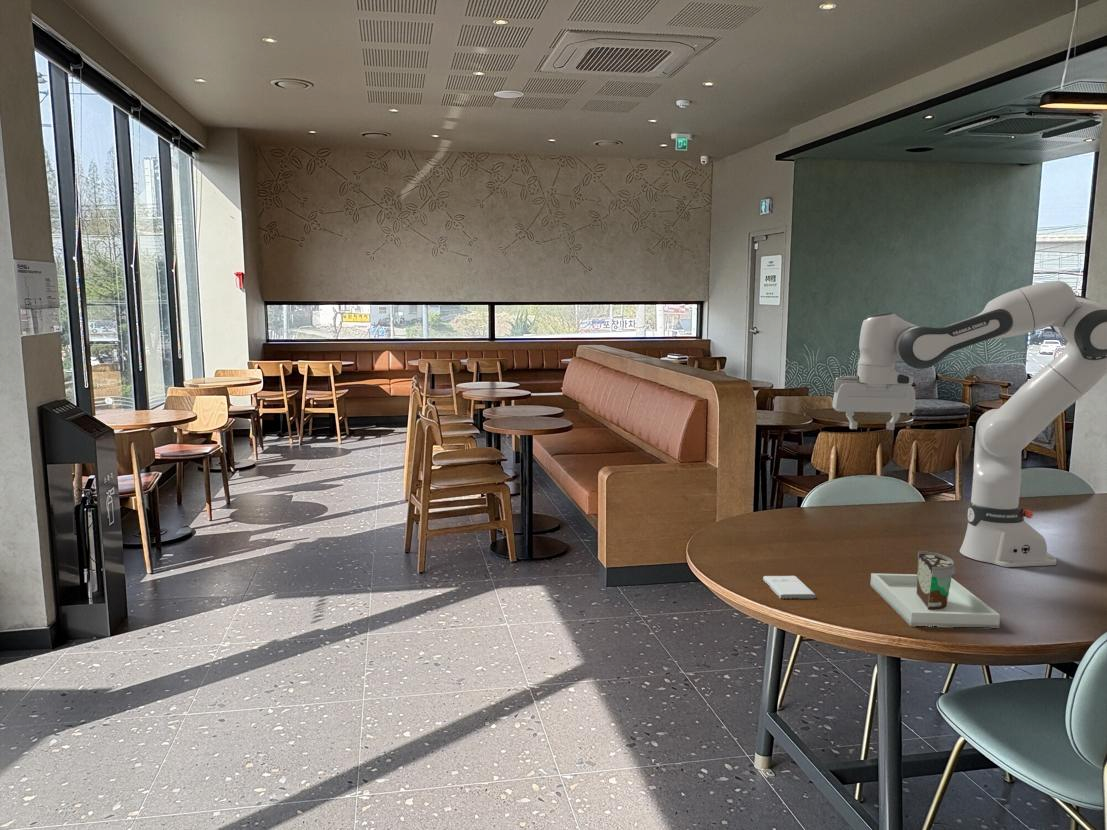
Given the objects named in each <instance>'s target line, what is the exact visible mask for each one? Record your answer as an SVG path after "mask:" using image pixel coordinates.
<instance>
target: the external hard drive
mask: <svg viewBox="0 0 1107 830" xmlns="http://www.w3.org/2000/svg"><path fill="white" fill-rule="evenodd" d="M762 577H763V578H762V580H763V582H764V583H767V584H768V585H769V586H770V587H769V586H768V585H767V584H766V585H767V586H768V587H769V588H770V589H771V590H772V592H774V593H775V595H776V596H777V595H778V596H779V597H778V596H777V597H778V598H779V599H780V600H781V598H783V599H784V598H785V600H786V599H787V598H789V599H790V600H791V599H792V598H794V599H795V598H798V599H816V596H817V595H816V594H815V593H814V592H813V591H812V590H811V589H810V588H809V587H808V586H806V584H805V583H804V582H803V581H801V580H800V579H799V578H798V577H797V576H796V575H764V576H762ZM795 600H796V599H795Z"/></svg>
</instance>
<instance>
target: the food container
mask: <svg viewBox="0 0 1107 830" xmlns="http://www.w3.org/2000/svg"><path fill="white" fill-rule="evenodd" d="M916 559H917V571H916V572H917V573H916V574H917V592H916V594H917V596H918V597H919V598H920V600H921V601H922V602H923V604H924V605H925V606H926V608H927V609H928V610H938V609H943V608H945V607H946V606H947V600H948V594H949V589H950V583H951V578H952V576H953V575H955V574H956V573H957V572H956V565H955V563H954V560H953V559H952V558H950V557H948V556H946V555H944V554H941V553H937V552H932V551H924V550H918V552H917V558H916Z"/></svg>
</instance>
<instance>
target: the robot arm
mask: <svg viewBox="0 0 1107 830" xmlns="http://www.w3.org/2000/svg"><path fill="white" fill-rule="evenodd" d="M1048 327H1050V328H1051V330H1052V331H1053V332H1054V333H1055V334H1057V335H1058V336H1060V337H1061V338H1062V339H1063V340H1064V341H1066V344H1065V346H1064V348H1063V350H1062V352H1061V353H1060V354H1059V355H1058V356H1056V357H1055V358H1054V359H1052V360H1051V361H1050V362H1048V363H1047V364H1046V365H1045V366H1044V367H1042V368H1041V370H1038V372H1037V373H1035V374H1034V375H1033V376H1032V377H1031V378H1030V379H1028V380H1027V381H1026V382H1024V383H1023V384H1022V385H1021V386H1020V387H1019V388H1018V390H1017V391H1015V392H1014V393H1013V394H1012V395H1011V397H1010V398H1009V399H1007V401H1006V402H1005V403H1004V404H1002V405H1001V406H1000V407H999V408H992V409H990V410H987V411H985V412H984V413H983V414H982V415H981V416H980V417H979V418H978V419H977V422H976V424H975V435H974V436H975V439H974V453H973V455H974V456H973V474H972V485H971V498H970V501H968V508H967V527H966V532H965V536H964V539H963V542H962V544H961V547H960V549H959V553H960V554H961V555H963V556H964V557H967V558H970V559H972V560H975V561H979V562H984V563H989V564H994V565H997V566H1000V567H1004V568H1017V567H1019V568H1020V567H1041V566H1042V567H1043V566H1044V567H1045V566H1056V565H1057V559H1056V558H1055V556H1054V555H1051V554H1050V553H1049V552H1048V546H1047V541H1046V539H1045V537H1044V535H1042V534H1041V533H1040V532H1039V531H1037V530H1036V529H1035V528H1034V527H1032V525H1030V524H1029V523H1028V522H1027V521H1025V518H1027V519H1032V518H1033V517H1034V512H1033V511H1031V510H1029V509H1028V508H1027V509H1025V508H1023V507H1021V506H1019V505H1020V503H1019V502H1020V492H1021V483H1022V451H1023V450H1024V449H1025V448H1026V447H1027V446H1028V445H1029V444H1030V443H1032V442H1033V441H1034V440H1035V439H1036V437H1038V436H1039V435H1040V434H1042V432H1043V431H1044V430H1045V429H1046V428H1047V427H1048V426H1049V425H1050V424H1051V423H1052V422H1053V421H1054V420H1055V419H1056V418H1057V417H1059V415H1061V414H1062V413H1064V411H1066V410H1067V409H1068V408H1069V407H1071V406H1072V405H1074V403H1076V402H1077V401H1078V400H1079V399H1081V398H1082V397H1083V396H1085V395H1086V394H1087V393H1088V392H1089V391H1091V389H1092V388H1094V387H1095V386H1096V385H1097V384H1098V383H1099V382H1100V380H1101V379H1102V378H1103V377H1104V376H1105V375H1106V374H1107V306H1106V305H1105V304H1103V303H1101V302H1097V301H1095V300H1092V299H1090V298H1088V297H1085V296H1084V295H1083V296H1082V295H1078V294H1076V293H1075V291H1074V290H1073V288H1072V287H1071V286H1070V285H1069V284H1068V283H1067V282H1064V281H1062V280H1051V281H1045V282H1040V283H1039V282H1038V283H1036V284H1030V285H1027V286H1023V287H1020V288H1016V289H1013V290H1011V291H1008V292H1006V293H1005V292H1004V293H1003V294H1000V295H999V296H996V297H995V298H993V299H992V300H991V299H990V300H989V301H988V302H987V303H986V305H985V306H984V309H983V310H982V311H981V312H979V313H978V314H977V315H974V316H971V317H970V318H967V319H964V320H963V319H962V320H961V321H957V322H955V323H951V324H948V325H946V326H941V327H932V326H931V327H930V326H929V327H928V326H918V325H916V324H913V323H911V322H908V321H906V319H905V320H904V319H902V318H901V317H899V316H898V315H897V314H896V313H895V312H879V313H874V314H870V315H868V316H866V317H865V318H864V320H863V321H862V324H861V328H860V334H859V343H858V344H859V345H858V348H859V358H858V361H857V372H856V375H840V376H839V377H837V378H835V380H834V382H833V390H834V392H833V399H832V406H831V407H832V408H833V409H834V410H835V411H836V412H845V416H846V418H847V420H848V421H849V429H850V430H857V429H858V425H859V424H858V422H857V421H855V420H854V418H853V416H855V413H861V412H862V413H890V416H892V417H891V419H890V420H889V421H887V422H886V426H885V429H886V430H890V431H891V430H892V431H894V430H895V424H896V423H897V422H898V420H899V418H900V416H901V413H904V414H905V413H907V414H908V413H909V414H910V413H913V411H914V410H915V409H916V391H915V388H914V386H913V383H914V376H913V375H909V374H906V373H903V372H901V371H898V370H896V369H895V367H896V362H903V363H905V364H906V365H907V366H909V367H911V368H914V369H918V370H924V369H928V368H931V367H934V366H935V365H938V363H939V362H941V361H942V360H944V359H945V357H947V356H948V355H950V354H951V353H954V352H955V351H958V350H961V349H964V348H967V347H970V346H973V345H976V344H978V343H982V342H984V341H989V340H994V339H1006V338H1012V337H1017V336H1022V335H1025V334H1029V333H1031V332H1035V331H1038V330H1042V329H1043V328H1048Z"/></svg>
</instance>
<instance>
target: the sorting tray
mask: <svg viewBox="0 0 1107 830" xmlns="http://www.w3.org/2000/svg"><path fill="white" fill-rule="evenodd" d="M870 587H871V588H872V589H873V590H874V591H875V592H876V593H877V594H878V595H879V596H880V597H881V598H882V599H883V600H884V601H885V602H886V603H887V604H888V605H889V606H890V607H891V608H892V609H893V610H894V611H895V612H896V613H897V614H898V615H899V616H900V617H901V618H902V619H903V620H904V621H905V622H906V623H907V624H908V625H909V626H910V627H916V626H926V627H925V628H935V627H934V626H937V627H936V628H953V627H990V628H989V629H991V628H999V629H1000V623H1001V622H1000V620H1001V614H1000V613H998V612H997V611H996V610H995V609H993V608H992V607H991V606H990V605H988V604H987V603H986V602H984V601H982V600H981V599H980V598H979V597H977V596H976V595H975V594H974V593H972V591H970V590H969V589H967V588H966V587H964V586H963V585H962V584H961V583H959V582H958V581H957V580H955V579H954V578H952V577H951V583H950V589H949V594H948V600H947V606H946V607H945V608H943V609H938V610H928V609H927V608H926V606H925V605H924V604H923V602H922V601H921V600H920V598H919V597H918V596H917V594H916V592H917V573H916V574H914V573H913V574H911V573H910V574H909V573H907V574H906V573H905V574H904V573H874V572H872V573H870ZM927 626H928V627H927ZM932 626H933V627H932ZM950 626H951V627H950Z"/></svg>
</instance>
